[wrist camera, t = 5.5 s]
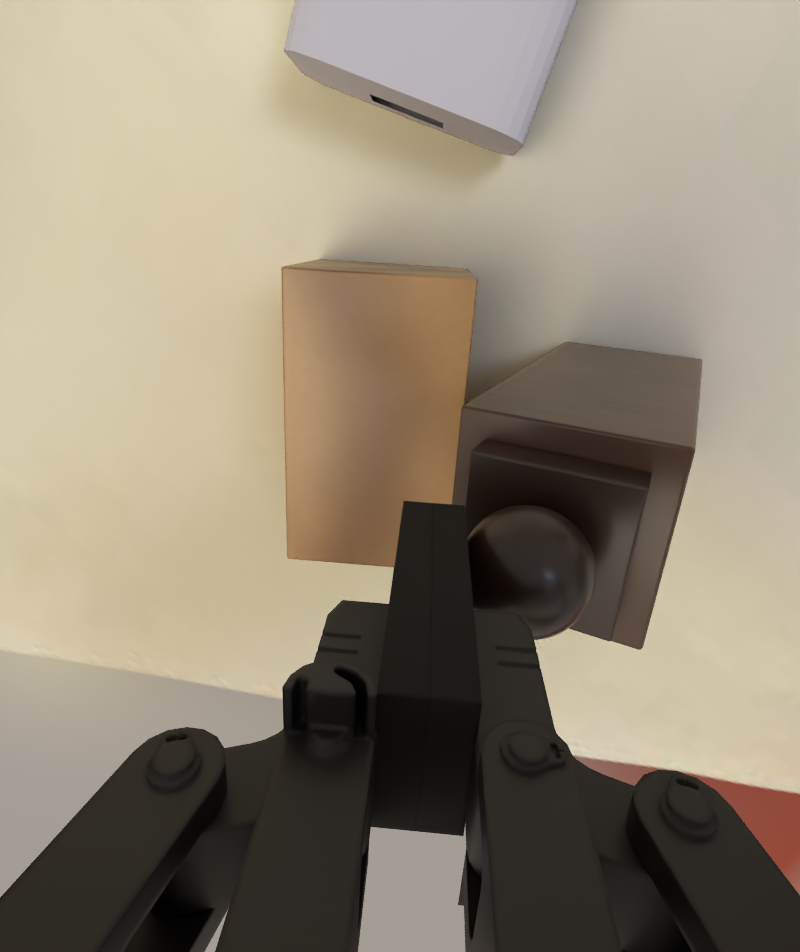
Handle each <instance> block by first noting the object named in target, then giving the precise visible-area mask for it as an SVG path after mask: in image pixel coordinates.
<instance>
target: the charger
mask: <svg viewBox="0 0 800 952" xmlns="http://www.w3.org/2000/svg"><path fill="white" fill-rule="evenodd" d="M576 3H577V0H295V3H294V8H293V12H292V17H291V21H290V26H289V31H288V35H287V40H286V44H285V49H284V52H285V53H286V54H287V55H288V57H289V58H290V59H291V60H292V61H293V63H294V64H295V65H296V66H297V67H298V69H299V70H300V71H301V72H302V73H303V74H304V75H306V76H308V77H310V78H311V79H313V80H316V81H318V82H320V83H322V84H324V85H327V86H329V87H331V88H333V89H336V90H338V91H341V92H343V93H346V94H348V95H351V96H353V97H356V98H358V99H361V100H364V101H366V102H369V103H371V104H374V105H376V106H379V107H381V108H384V109H387V110H389V111H392V112H394V113H397V114H399V115H402V116H404V117H407V118H410V119H412V120H415V121H417V122H420V123H422V124H425V125H427V126H430V127H432V128H435V129H438V130H440V131H443V132H445V133H448V134H450V135H453V136H455V137H458V138H461V139H463V140H466V141H468V142H471V143H473V144H476V145H479V146H481V147H484V148H487V149H490V150H492V151H495V152H499V153H502V154H505V155H510V156H513V155H514V154H515V153H516V152H517V151H518V150H519V149H520V148H521V147H522V146H523V143H524V141H525V138H526V135H527V133H528V130H529V128H530V125H531V122H532V120H533V117H534V114H535V112H536V109H537V106H538V104H539V101H540V98H541V96H542V93H543V90H544V88H545V85H546V82H547V80H548V77H549V74H550V72H551V69H552V66H553V64H554V61H555V58H556V56H557V53H558V51H559V48H560V45H561V43H562V40H563V37H564V35H565V32H566V29H567V27H568V24H569V21H570V19H571V16H572V13H573V11H574V8H575V5H576Z"/></svg>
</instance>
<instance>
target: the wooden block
mask: <svg viewBox="0 0 800 952" xmlns="http://www.w3.org/2000/svg"><path fill="white" fill-rule="evenodd" d="M477 283H478V281H477V279H476V278H475V277H474V276H473V274H472V273H471V272H470V271H469V270H468V269H464V268H448V267H432V266H417V265H401V264H385V263H370V262H354V261H338V260H322V259H319V260H314V261H309V262H304V263H299V264H294V265H289V266H284V267H282V317H283V368H284V420H285V471H286V522H287V557H288V558H289V559H300V560H312V561H325V562H337V563H349V564H361V565H374V566H386V567H394V566H395V559H396V552H397V544H398V537H399V530H400V523H401V516H402V508H403V501H414V502H427V503H440V504H452V497H453V487H454V477H455V467H456V457H457V447H458V437H459V427H460V417H461V408H462V406H463V405H465V399H466V390H467V380H468V370H469V360H470V351H471V341H472V331H473V322H474V312H475V302H476V292H477Z"/></svg>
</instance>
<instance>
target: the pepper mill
mask: <svg viewBox="0 0 800 952" xmlns="http://www.w3.org/2000/svg"><path fill="white" fill-rule="evenodd" d="M701 372H702V360H701V359H696V358H688V357H680V356H673V355H665V354H657V353H649V352H641V351H633V350H625V349H618V348H610V347H602V346H594V345H586V344H578V343H571V342H565V343H564V344H562V345H561V346H559V347H557V348H556V349H554V350H552V351H551V352H549V353H548V354H546V355H544V356H543V357H541V358H539V359H538V360H536V361H535V362H533V363H531V364H530V365H528V366H527V367H525V368H523V369H522V370H520V371H518V372H517V373H515V374H514V375H512V376H510V377H509V378H507V379H505V380H504V381H502V382H501V383H499V384H497V385H496V386H494V387H492V388H491V389H489V390H488V391H486V392H484V393H483V394H481V395H479V396H478V397H476V398H475V399H473V400H471V401H470V402H468V403H466V404H465V405H463V406H462V408H461V417H460V427H459V437H458V447H457V457H456V467H455V477H454V487H453V497H452V504H453V505H464V506H465V517H466V528H467V540H468V551H469V562H470V573H471V584H472V596H473V607H474V610H484V611H496V612H508V613H518V614H519V616H520V617H521V618H522V619H523V620H524V622H525V623H526V624H527V625H528V627H529V628H530V629H531V630H532V634H533V638H534V640H538V639H544V638H549V637H552V636H555V635H557V634H559V633H561V632H563V631H565V630H567V629H568V628H569V629H572V630H575V631H579V632H582V633H585V634H588V635H591V636H594V637H597V638H601V639H604V640H607V641H614V642H617V643H620V644H623V645H626V646H629V647H632V648H636V649H642V648H643V644H644V641H645V637H646V633H647V629H648V626H649V622H650V618H651V614H652V611H653V607H654V603H655V599H656V596H657V592H658V588H659V584H660V581H661V577H662V573H663V569H664V566H665V562H666V558H667V554H668V551H669V547H670V543H671V539H672V536H673V532H674V528H675V524H676V521H677V517H678V513H679V509H680V506H681V502H682V498H683V495H684V491H685V487H686V483H687V480H688V476H689V472H690V468H691V465H692V461H693V457H694V453H695V446H696V434H697V422H698V409H699V397H700V385H701Z"/></svg>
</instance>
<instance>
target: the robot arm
mask: <svg viewBox="0 0 800 952" xmlns="http://www.w3.org/2000/svg"><path fill="white" fill-rule="evenodd" d="M283 720H284V721H283V722H284V729H283V730H282V731H280V732H279V733H278V734H276V735H274V736H272V737H269V738H268V739H265V740H262V741H258V742H255V743H251V744H246V745H240V746H235V747H229V748H224V747H223V746H222V744H221V742H220V741H219V739H218V738H217V737H216V736H214V735H213V734H211V733H209V732H207V731H206V730H203V729H197V728H189V727H186V728H179V729H174V730H167V731H165V732H163V733H161V734H159V735H156V736H154V737H152V738H150V739H148V740H147V741H146V742H145V743H143V744H142V745H141V746H140V747H139V748H137V749H136V750H135V751H134V752H133V753H132V754H131V755H130V756H129V757H128V758H127V759H126V761H124V763H123V764H122V765H121V766H120V767H119V768H118V769H117V770H116V771H115V773H114V774H113V775H112V776H111V777H110V778H109V779H108V780H107V781H106V782H105V783H104V784H103V786H102V787H101V788H100V789H99V790H98V791H97V792H96V793H95V794H94V795H93V797H92V798H91V799H90V800H89V801H88V802H87V803H86V804H85V805H84V806H83V808H82V809H81V810H80V811H79V812H78V813H77V814H76V815H75V816H74V817H73V818H72V820H71V821H70V822H69V823H68V824H67V825H66V826H65V827H64V828H63V829H62V831H61V832H60V833H59V834H58V835H57V836H56V837H55V838H54V839H53V840H52V842H51V843H50V844H49V845H48V846H47V847H46V848H45V849H44V850H43V851H42V853H41V854H40V855H39V856H38V857H37V858H36V859H35V860H34V861H33V862H32V863H31V865H30V866H29V867H28V868H27V869H26V870H25V871H24V872H23V873H22V874H21V876H20V877H19V878H18V879H17V880H16V881H15V882H14V883H13V884H12V885H11V887H10V888H9V889H8V890H7V891H6V892H5V893H4V894H3V895H2V896H1V897H0V952H204V951H205V949H206V948H207V946H208V944H209V942H210V941H211V938H212V937H213V935H214V933H215V931H216V930H217V928H218V926H219V924H220V922H221V921H222V919H223V917H224V915H225V913H226V912H227V910H228V912H227V915H226V919H225V922H224V925H223V928H222V931H221V935H220V938H219V941H218V945H217V948H216V951H215V952H358V945H359V937H360V927H361V918H362V909H363V901H364V892H365V882H366V874H367V866H368V850H369V836H370V827H379V828H389V829H399V830H409V831H420V832H430V833H440V834H450V835H460V836H463V834H464V827H465V824H466V855H465V862H464V868H463V876H462V882H461V889H460V896H459V902H458V905H464V914H465V915H464V918H465V947H466V948H465V949H466V952H800V895H799V894H798V893H797V891H796V890H795V889H794V887H793V886H792V885H791V884H790V882H789V881H788V880H787V878H786V877H785V876H784V874H783V873H782V872H781V870H780V869H779V868H778V866H777V865H776V864H775V863H774V861H773V860H772V859H771V857H770V856H769V855H768V854H767V852H766V851H765V849H764V848H763V847H762V846H761V844H760V843H759V842H758V840H757V839H756V838H755V836H754V835H753V834H752V832H751V831H750V830H749V829H748V827H747V826H746V825H745V823H744V822H743V821H742V819H741V818H740V817H739V816H738V814H737V813H736V811H735V810H734V809H733V808H732V806H731V805H730V804H729V803H728V802H727V801H726V800H725V799H724V798H723V797H722V796H721V795H720V794H719V793H718V792H717V791H716V790H714V789H713V788H711V787H710V786H708V785H706V784H705V783H703V782H702V781H700V780H699V779H697V778H695V777H692V776H689V775H686V774H683V773H681V772H678V771H667V770H657V771H654V772H651V773H648V774H645V775H643V776H642V778H641V779H640V780H639V781H638V783H637V784H636V785H635V786H633V785H630V784H627V783H625V782H622V781H619V780H616V779H614V778H611V777H608V776H606V775H603V774H601V773H599V772H596V771H594V770H592V769H590V768H588V767H587V766H585V765H584V764H582V763H581V762H579V761H578V760H576V759H575V758H574V757H573V756H572V754H571V752H570V750H569V747H568V745H567V744H566V743H565V742H564V741H563V740H562V739H561V738H560V737H559V736H558V735H557V734H556V731H555V728H554V724H553V720H552V716H551V711H550V707H549V703H548V698H547V694H546V690H545V686H544V681H543V677H542V673H541V669H540V664H539V660H538V655H537V653H536V647H535V642H534V638H533V634H532V630H531V629H530V628H529V627H528V625H527V624H526V623H525V622H524V620H523V619H522V618H521V617H520V616H519V614H518V613H508V612H496V611H484V610H474V607H473V596H472V584H471V573H470V562H469V551H468V540H467V528H466V517H465V506H464V505H453V504H440V503H427V502H414V501H403V508H402V516H401V523H400V530H399V537H398V544H397V552H396V559H395V566H394V573H393V580H392V587H391V595H390V602H389V604H381V603H370V602H358V601H346V600H342V601H341V602H340V603H339V604H338V605H337V606H336V607H335V608H334V609H333V610H332V611H331V612H330V613H329V614H328V616H327V619H326V623H325V626H324V630H323V634H322V636H321V640H320V643H319V646H318V651H317V653H316V656H315V660H314V663H311V664H308V665H305V666H303V667H301V668H300V669H298V670H297V671H296V672H294V673H293V674H291V675H290V677H289V678H288V680H287V681H286V683H285V684H284V686H283ZM229 905H230V906H229ZM228 908H229V909H228Z"/></svg>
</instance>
